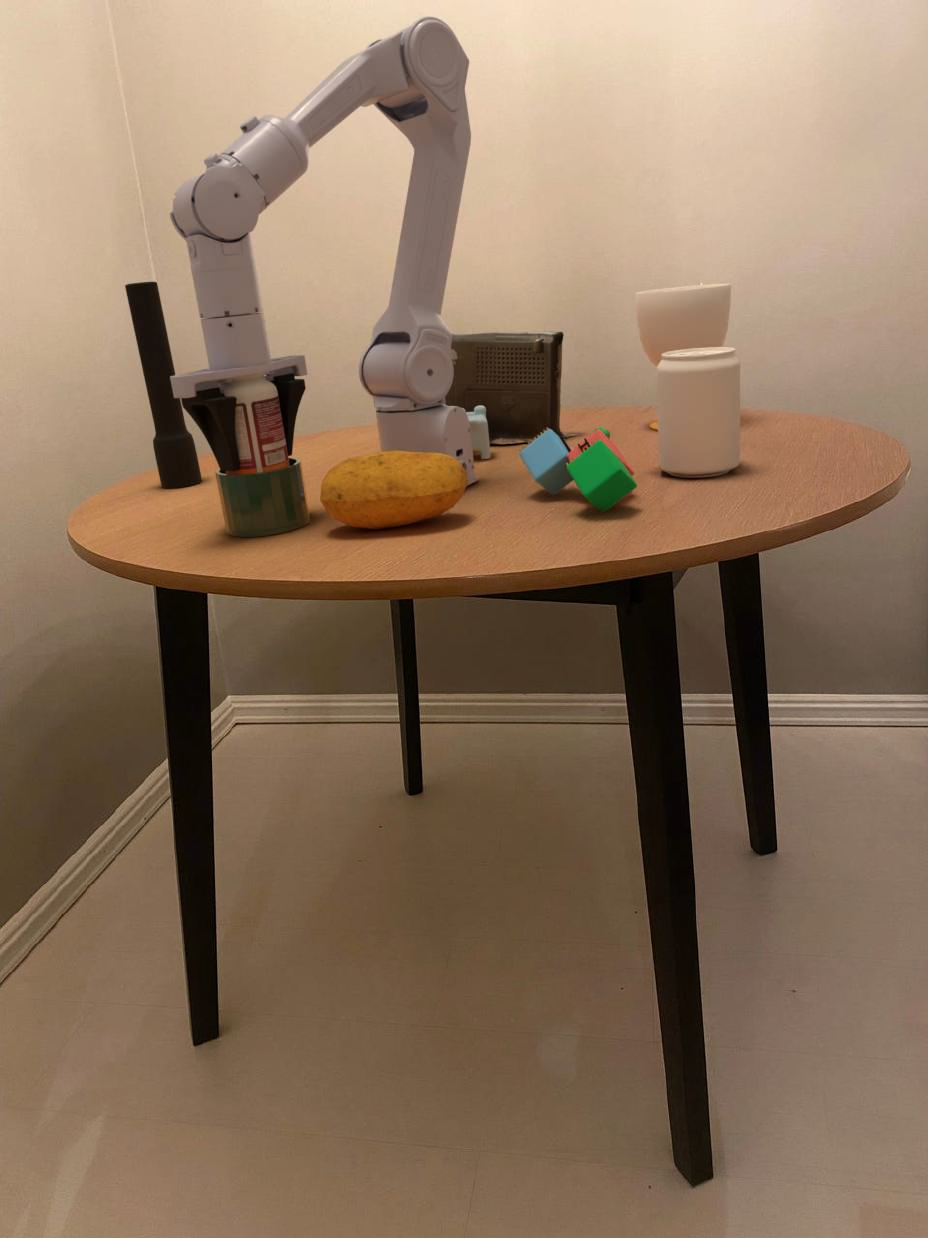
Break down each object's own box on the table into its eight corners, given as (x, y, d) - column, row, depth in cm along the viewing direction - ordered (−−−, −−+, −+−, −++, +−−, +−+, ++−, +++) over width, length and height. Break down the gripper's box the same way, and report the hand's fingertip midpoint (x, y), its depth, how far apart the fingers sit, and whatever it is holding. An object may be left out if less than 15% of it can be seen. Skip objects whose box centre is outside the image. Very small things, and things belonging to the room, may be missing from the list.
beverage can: (742, 477, 93) (743, 352, 89) (658, 481, 95) (655, 358, 90) (736, 460, 100) (737, 344, 96) (659, 464, 102) (656, 350, 98)
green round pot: (326, 516, 94) (317, 457, 92) (274, 538, 88) (264, 475, 86) (262, 513, 98) (252, 456, 96) (209, 535, 92) (197, 474, 90)
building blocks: (588, 553, 90) (535, 467, 96) (657, 500, 87) (599, 415, 93) (549, 524, 84) (496, 434, 90) (623, 466, 81) (563, 378, 87)
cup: (639, 435, 119) (635, 294, 113) (638, 420, 130) (635, 290, 124) (735, 429, 117) (736, 284, 111) (726, 414, 128) (726, 282, 122)
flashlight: (197, 485, 116) (205, 477, 121) (156, 280, 108) (167, 280, 113) (157, 490, 116) (167, 481, 121) (113, 284, 108) (125, 284, 113)
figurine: (487, 449, 121) (482, 401, 119) (492, 460, 113) (488, 409, 111) (456, 452, 121) (451, 404, 119) (460, 463, 113) (455, 412, 111)
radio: (579, 434, 124) (573, 316, 119) (552, 447, 117) (544, 323, 112) (430, 435, 136) (419, 327, 131) (397, 446, 129) (384, 334, 124)
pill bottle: (289, 467, 95) (270, 351, 91) (292, 478, 89) (272, 355, 85) (227, 475, 94) (205, 358, 90) (226, 487, 88) (203, 363, 84)
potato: (332, 521, 92) (321, 452, 90) (471, 508, 91) (464, 439, 89) (319, 543, 85) (308, 468, 82) (471, 529, 84) (464, 454, 82)
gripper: (263, 310, 94) (285, 446, 98) (139, 326, 83) (170, 476, 88) (312, 306, 90) (332, 448, 94) (187, 322, 79) (217, 480, 84)
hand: (257, 462), depth 91 cm, fingers closed on pill bottle, 6 cm apart
